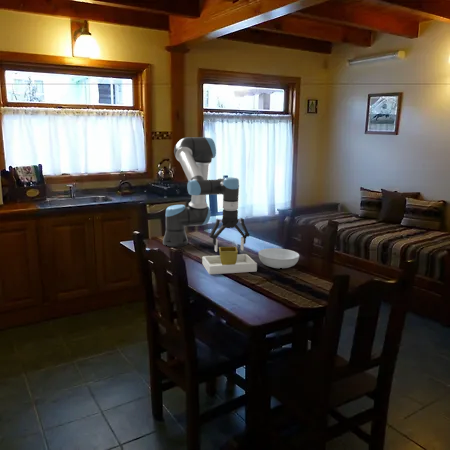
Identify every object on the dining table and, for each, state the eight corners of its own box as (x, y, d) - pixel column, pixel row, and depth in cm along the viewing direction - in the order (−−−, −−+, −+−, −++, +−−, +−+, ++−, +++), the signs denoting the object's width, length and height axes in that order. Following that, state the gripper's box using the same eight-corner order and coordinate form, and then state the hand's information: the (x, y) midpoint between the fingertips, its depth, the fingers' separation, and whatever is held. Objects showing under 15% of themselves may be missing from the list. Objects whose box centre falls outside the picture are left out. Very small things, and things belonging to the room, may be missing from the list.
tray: (202, 263, 222) (202, 256, 221) (246, 261, 228) (246, 254, 227) (209, 274, 206) (209, 266, 205) (256, 271, 212) (256, 263, 211)
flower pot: (219, 268, 212) (220, 251, 210) (218, 263, 221) (219, 246, 219) (237, 268, 213) (237, 251, 211) (235, 263, 221) (236, 246, 219)
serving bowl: (297, 274, 210) (298, 260, 208) (255, 270, 214) (256, 257, 212) (299, 261, 230) (300, 249, 228) (260, 258, 234) (261, 246, 232)
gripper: (207, 211, 204) (206, 253, 209) (256, 210, 210) (254, 251, 215) (204, 208, 211) (203, 249, 216) (252, 207, 217) (250, 247, 222)
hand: (229, 250), depth 216 cm, fingers open, 13 cm apart
